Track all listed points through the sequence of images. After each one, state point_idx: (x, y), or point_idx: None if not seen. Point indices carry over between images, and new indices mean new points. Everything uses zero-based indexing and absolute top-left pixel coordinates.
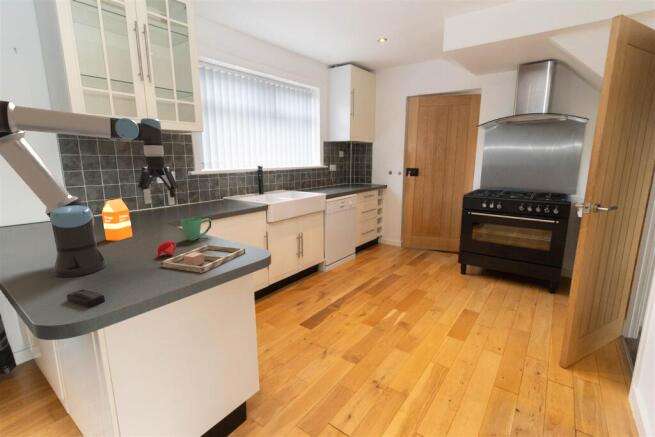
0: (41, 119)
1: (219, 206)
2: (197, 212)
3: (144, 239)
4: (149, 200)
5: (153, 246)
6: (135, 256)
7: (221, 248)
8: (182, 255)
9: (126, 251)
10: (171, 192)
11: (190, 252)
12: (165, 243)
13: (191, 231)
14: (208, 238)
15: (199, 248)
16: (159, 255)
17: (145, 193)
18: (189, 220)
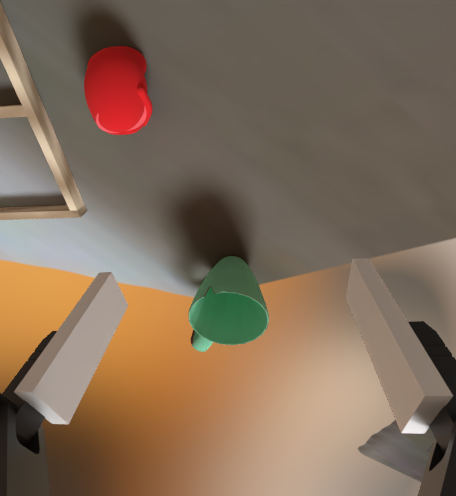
0: None
1: None
2: None
3: (415, 217)
4: (354, 305)
5: (294, 159)
6: (238, 6)
7: (21, 209)
8: (9, 75)
9: (355, 50)
10: (25, 374)
11: (32, 123)
12: (93, 85)
13: (209, 274)
14: (192, 286)
15: (52, 171)
16: (115, 46)
17: (393, 346)
18: (259, 327)
